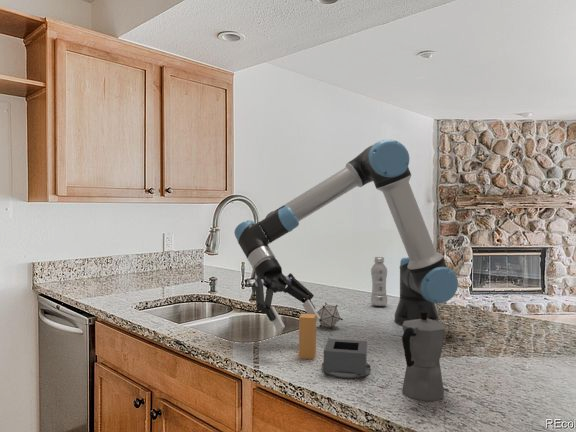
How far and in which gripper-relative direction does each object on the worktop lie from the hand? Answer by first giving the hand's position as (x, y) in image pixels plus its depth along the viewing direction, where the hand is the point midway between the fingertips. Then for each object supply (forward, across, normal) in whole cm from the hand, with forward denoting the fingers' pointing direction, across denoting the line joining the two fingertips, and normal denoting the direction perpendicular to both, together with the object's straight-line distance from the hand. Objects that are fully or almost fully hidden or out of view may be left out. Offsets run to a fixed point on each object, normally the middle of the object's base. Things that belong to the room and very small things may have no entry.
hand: (300, 325), depth 122 cm
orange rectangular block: (+7, -1, -4) cm, 8 cm away
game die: (-3, -26, -15) cm, 30 cm away
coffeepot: (+31, -2, +20) cm, 37 cm away
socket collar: (+17, -1, +6) cm, 18 cm away
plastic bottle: (-9, -66, -20) cm, 69 cm away
